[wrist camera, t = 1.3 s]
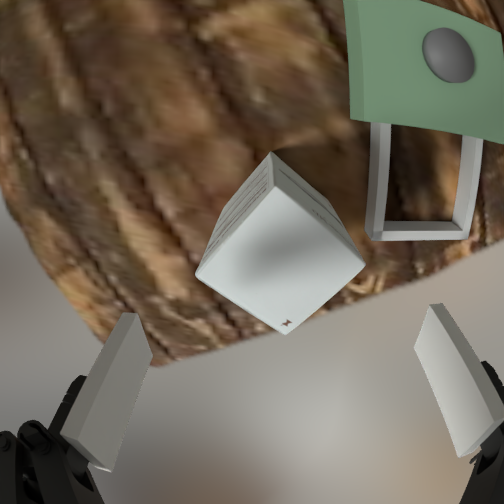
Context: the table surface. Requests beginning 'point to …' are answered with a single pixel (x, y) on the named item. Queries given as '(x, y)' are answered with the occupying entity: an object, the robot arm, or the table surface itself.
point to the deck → (423, 97)
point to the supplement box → (279, 248)
